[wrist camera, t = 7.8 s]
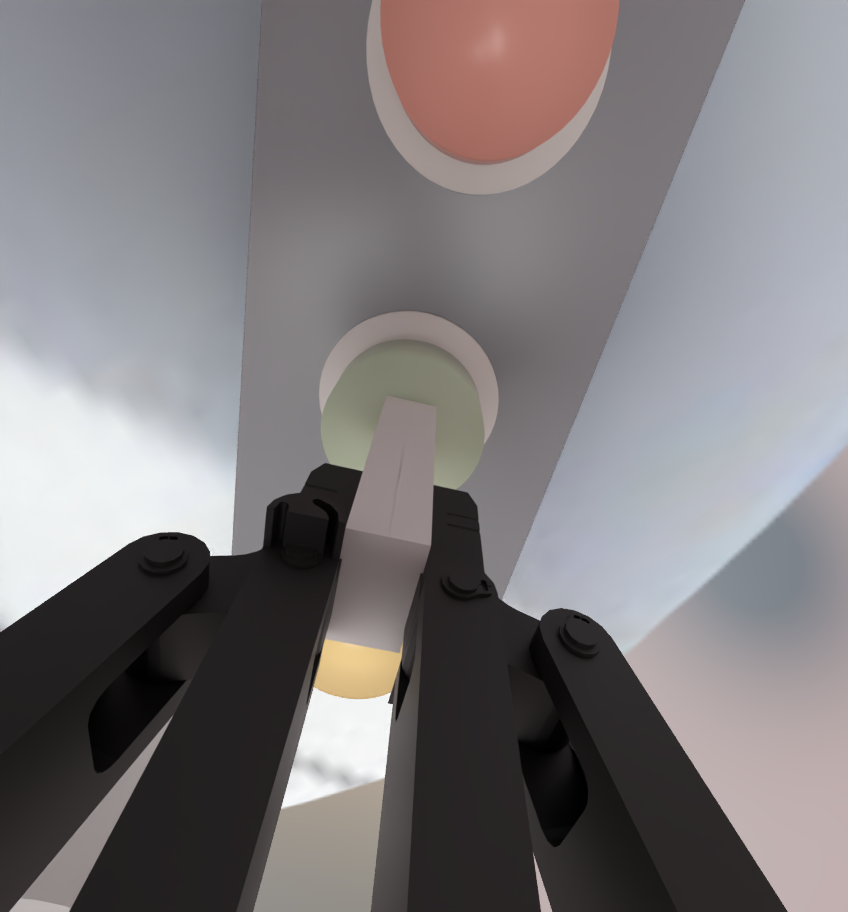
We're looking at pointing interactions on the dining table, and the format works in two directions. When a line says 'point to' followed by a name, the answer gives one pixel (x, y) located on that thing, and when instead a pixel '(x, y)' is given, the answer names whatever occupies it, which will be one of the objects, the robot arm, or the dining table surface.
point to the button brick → (495, 69)
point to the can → (83, 846)
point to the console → (448, 245)
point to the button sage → (411, 378)
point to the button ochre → (356, 670)
